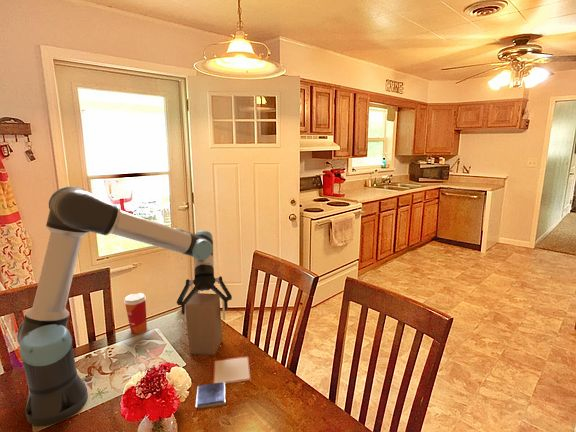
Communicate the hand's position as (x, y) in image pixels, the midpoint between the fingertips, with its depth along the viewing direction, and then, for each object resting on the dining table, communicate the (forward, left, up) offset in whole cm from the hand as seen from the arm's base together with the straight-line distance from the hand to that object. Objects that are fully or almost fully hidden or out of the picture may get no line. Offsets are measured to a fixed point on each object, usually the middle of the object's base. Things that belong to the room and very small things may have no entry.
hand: (205, 320), depth 123 cm
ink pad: (+2, -25, -11) cm, 28 cm away
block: (0, +1, -12) cm, 12 cm away
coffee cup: (-28, +19, -12) cm, 36 cm away
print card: (+9, -14, -11) cm, 20 cm away
